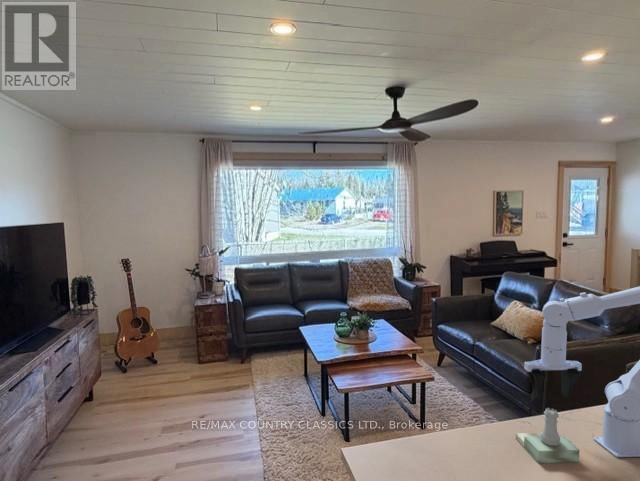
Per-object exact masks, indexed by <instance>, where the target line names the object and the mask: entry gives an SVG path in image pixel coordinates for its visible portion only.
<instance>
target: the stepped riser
mask: <svg viewBox="0 0 640 481" xmlns="http://www.w3.org/2000/svg"><path fill="white" fill-rule="evenodd" d="M540 433H541V432H521V433H520V432H518V433H517V432H516V433H515V440H516V441H517V442H518V443H519V445H521V446H522V447H523V449H524V451H526V452H527V453H528V454H529V455H530V456H531V458H533V459H534V460H535V462H536V463H537V464H545V463H546V464H552V463H580V452H581V451H580V449H579V447H577V446H576V445H575V444H573V443H572V442H571V441H570V440H569V439H568V438H567V437H566V436H565V435H559V436H560V442H561V443H560V444H559V445H558V446H549V445H546V444H544V443H543V442H542V441H541V439H540V436H541V435H540Z"/></svg>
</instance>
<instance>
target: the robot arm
mask: <svg viewBox="0 0 640 481" xmlns="http://www.w3.org/2000/svg"><path fill="white" fill-rule="evenodd" d="M639 304H640V285H639V286H636V287H632V288H631V287H630V288H628V289H625V290H624V289H623V290H619V291H617V292H611V293H609V294H604V295H601V296H599V295H595V294H593V293H588V294H587V292H580V293H579V296H574V297H570V298H569V297H568V298H565V297H561V298H559V301H558V300H550V301H547V302H546V303H545V304H544V305H543V307H542V310H541V311H542V317H543V321H542V328H541V347H540V348H541V350H540V359H537V360H531V361H524V364H523V368H524V370H525V372H526V374H527V375H528V377H529V379H530V383H531V385H532V391H533V395H534V396H535V397H536V398H538V399H541V398H542V396H543V394H542V393H543V392H542V390H543V385H544V384H543V383H544V381H545V378H546V376H545V375H544V374H542V371H559V372H560V378H561V389H560V391H561V395H562V396H564V397H565V398H569V397H570V395H571V392H572V390H573V387H574V386H575V384H576V383H577V381H578V380H579V379H580V378H581V372H582V367H583V364H582V363H581V362H579V361H578V360H567V342H568V340H567V339H568V337H567V336H568V331H567V324H568V323H569V322H570V321H571V322H575V321H580V320H584V319H589V318H595V317H599V316H601V315H602V314H603V312H604V311H605V310H607V309H608V310H609V309H616V308H621V307H626V306H627V307H628V306H633V305H639ZM604 394H605V396H606V399H607V404H606V405H605V406H604V407H603V422H602V436H594V437H593V440H594V441H595V442H597V443H598V444H599V445H601V446H602V447H603V448H605V449H606V451H608V452H609V453H610V454H611V455H613V456H614V457H616V458H636V457H637V458H639V457H640V359H639V360H638V361H637V362H636V363H635V364H634V366H633V367H632V368H631V369H630V370H629V371H628V372H627V373H624V374H622V375H620V376H619V377H618V378H617V379H616V380H613V381H611V382H609V383H608V384H607V385H606V386H605V388H604Z"/></svg>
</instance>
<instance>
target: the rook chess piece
mask: <svg viewBox="0 0 640 481" xmlns="http://www.w3.org/2000/svg"><path fill="white" fill-rule="evenodd" d="M543 414H544V416H545V417H544V421H545V422H544V427H543V429H542V430H541V432H539V433H540V435H541V436H540V439H541V441H542V442H543V443H544V444H546V445H549V446H558V445H559V444H560V443H561V442H560V436H561V435H560V434H559V432H558V427H557V424H558V422H559V421H558V418H559V417H560V415H559V413H558V410H556V409H554V408H550V407H547V408H545V411H543Z"/></svg>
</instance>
